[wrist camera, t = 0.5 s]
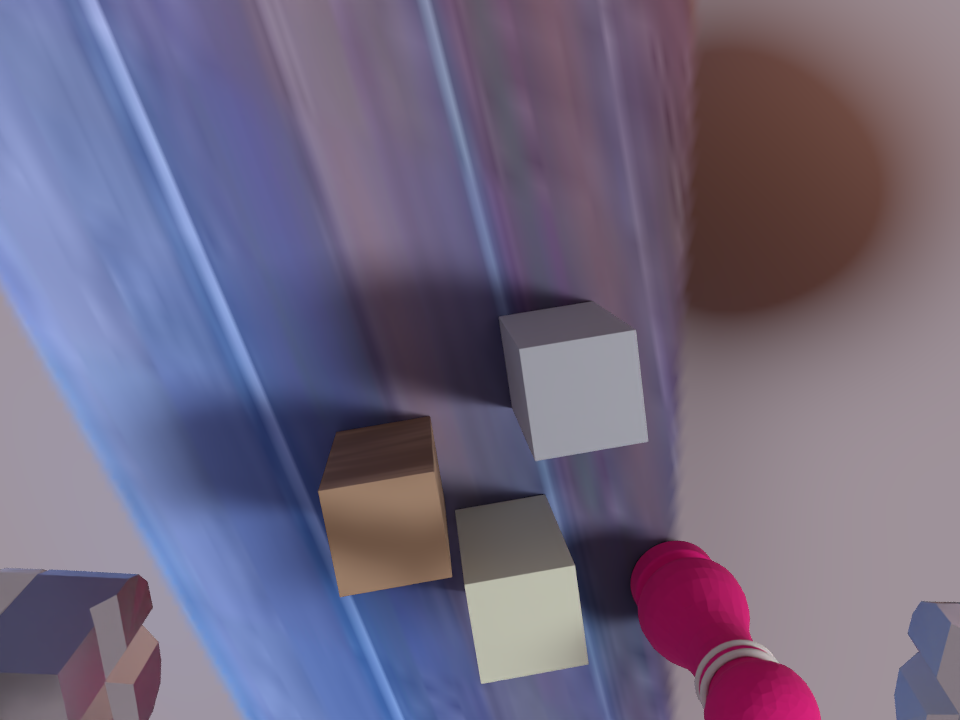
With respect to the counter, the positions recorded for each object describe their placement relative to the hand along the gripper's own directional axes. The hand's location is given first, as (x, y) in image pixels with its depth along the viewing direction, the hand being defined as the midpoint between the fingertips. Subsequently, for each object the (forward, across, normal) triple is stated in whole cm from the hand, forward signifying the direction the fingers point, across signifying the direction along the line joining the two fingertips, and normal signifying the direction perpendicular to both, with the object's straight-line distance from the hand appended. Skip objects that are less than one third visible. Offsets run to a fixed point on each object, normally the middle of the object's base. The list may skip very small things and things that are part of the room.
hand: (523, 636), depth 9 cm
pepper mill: (+44, -12, +30) cm, 55 cm away
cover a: (+43, +8, +21) cm, 49 cm away
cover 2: (+43, 0, +27) cm, 51 cm away
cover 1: (+45, -3, +14) cm, 47 cm away
